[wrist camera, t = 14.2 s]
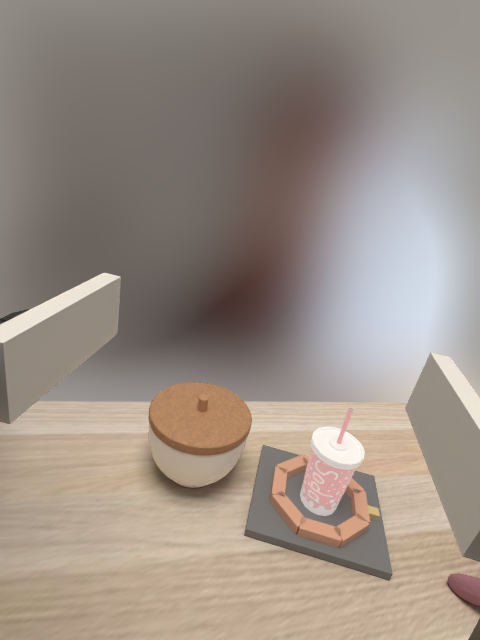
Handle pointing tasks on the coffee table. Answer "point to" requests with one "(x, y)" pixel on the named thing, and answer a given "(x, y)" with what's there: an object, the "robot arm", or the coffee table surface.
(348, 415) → the beverage cup
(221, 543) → the coffee table surface
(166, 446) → the lidded bowl
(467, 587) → the video game controller
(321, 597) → the coffee table surface
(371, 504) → the ring board
